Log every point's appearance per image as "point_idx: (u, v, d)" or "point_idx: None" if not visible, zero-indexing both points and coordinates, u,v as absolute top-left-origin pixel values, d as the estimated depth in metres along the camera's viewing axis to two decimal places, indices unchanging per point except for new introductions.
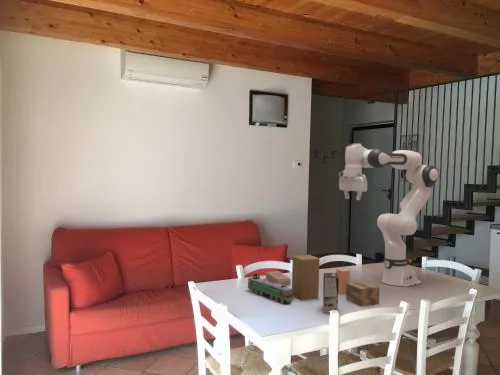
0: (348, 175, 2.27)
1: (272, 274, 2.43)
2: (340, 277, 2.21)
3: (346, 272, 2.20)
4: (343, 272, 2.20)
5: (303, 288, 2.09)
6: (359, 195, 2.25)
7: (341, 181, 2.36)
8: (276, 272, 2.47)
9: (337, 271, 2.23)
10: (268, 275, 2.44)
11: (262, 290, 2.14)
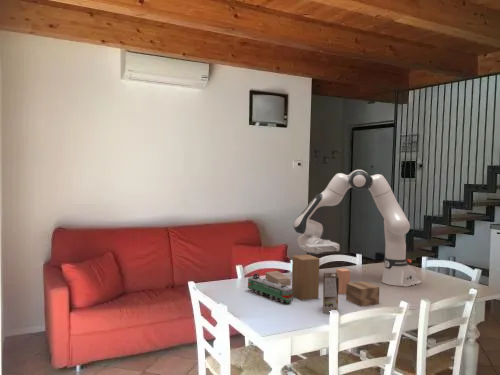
0: None
1: (272, 274, 2.43)
2: (340, 277, 2.21)
3: (346, 272, 2.20)
4: (343, 272, 2.20)
5: (303, 288, 2.09)
6: (318, 250, 2.33)
7: None
8: (276, 272, 2.47)
9: (337, 271, 2.23)
10: (268, 275, 2.44)
11: (262, 290, 2.14)
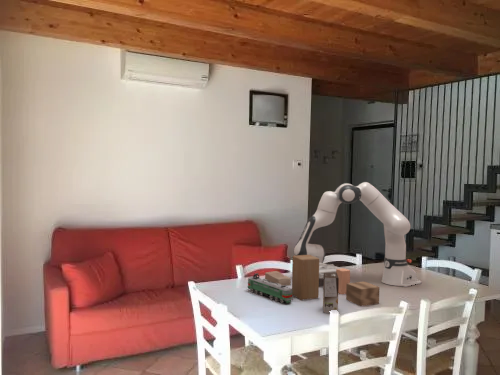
0: None
1: (272, 274, 2.43)
2: (340, 277, 2.21)
3: (346, 272, 2.20)
4: (343, 272, 2.20)
5: (303, 288, 2.09)
6: (321, 276, 2.30)
7: None
8: (275, 272, 2.47)
9: (337, 271, 2.23)
10: (267, 275, 2.43)
11: (262, 290, 2.14)
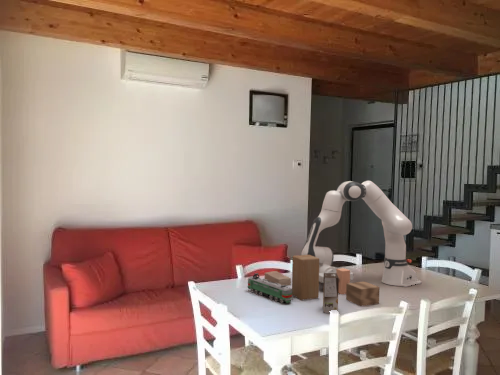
0: None
1: (271, 274, 2.42)
2: (340, 277, 2.21)
3: (346, 272, 2.20)
4: (343, 272, 2.20)
5: (303, 288, 2.09)
6: None
7: None
8: (274, 272, 2.47)
9: (337, 271, 2.23)
10: (267, 275, 2.43)
11: (262, 290, 2.14)
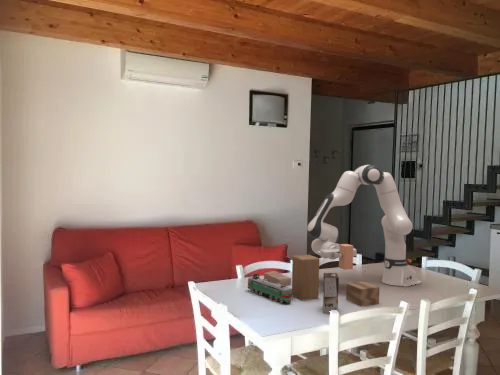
0: (330, 258, 2.31)
1: (271, 274, 2.42)
2: (343, 252, 2.18)
3: (349, 247, 2.18)
4: (346, 247, 2.17)
5: (303, 288, 2.09)
6: (337, 255, 2.20)
7: None
8: (274, 272, 2.47)
9: (340, 246, 2.21)
10: (267, 275, 2.43)
11: (262, 290, 2.14)
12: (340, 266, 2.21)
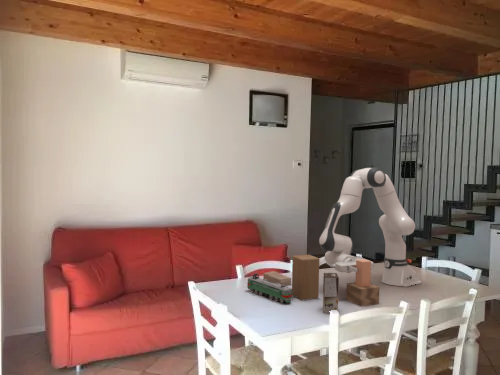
0: None
1: (271, 274, 2.42)
2: (360, 268, 2.06)
3: (367, 263, 2.06)
4: (364, 263, 2.05)
5: (303, 288, 2.09)
6: (352, 269, 2.07)
7: None
8: (273, 272, 2.46)
9: (357, 262, 2.08)
10: (267, 276, 2.42)
11: (262, 290, 2.14)
12: (357, 283, 2.08)
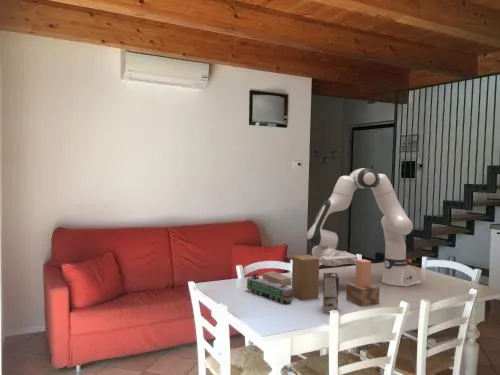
0: (331, 265, 2.30)
1: (270, 275, 2.41)
2: (360, 268, 2.06)
3: (367, 263, 2.06)
4: (364, 263, 2.05)
5: (303, 288, 2.09)
6: (335, 263, 2.19)
7: None
8: (273, 272, 2.46)
9: (357, 262, 2.08)
10: (266, 276, 2.42)
11: (261, 290, 2.14)
12: (357, 283, 2.08)
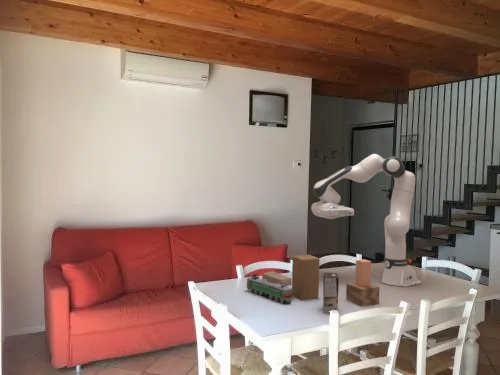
0: (329, 218, 2.44)
1: (270, 275, 2.41)
2: (360, 268, 2.06)
3: (367, 263, 2.06)
4: (364, 263, 2.05)
5: (303, 288, 2.09)
6: (333, 213, 2.32)
7: None
8: (272, 272, 2.46)
9: (357, 262, 2.08)
10: (266, 276, 2.41)
11: (261, 290, 2.14)
12: (357, 283, 2.08)
